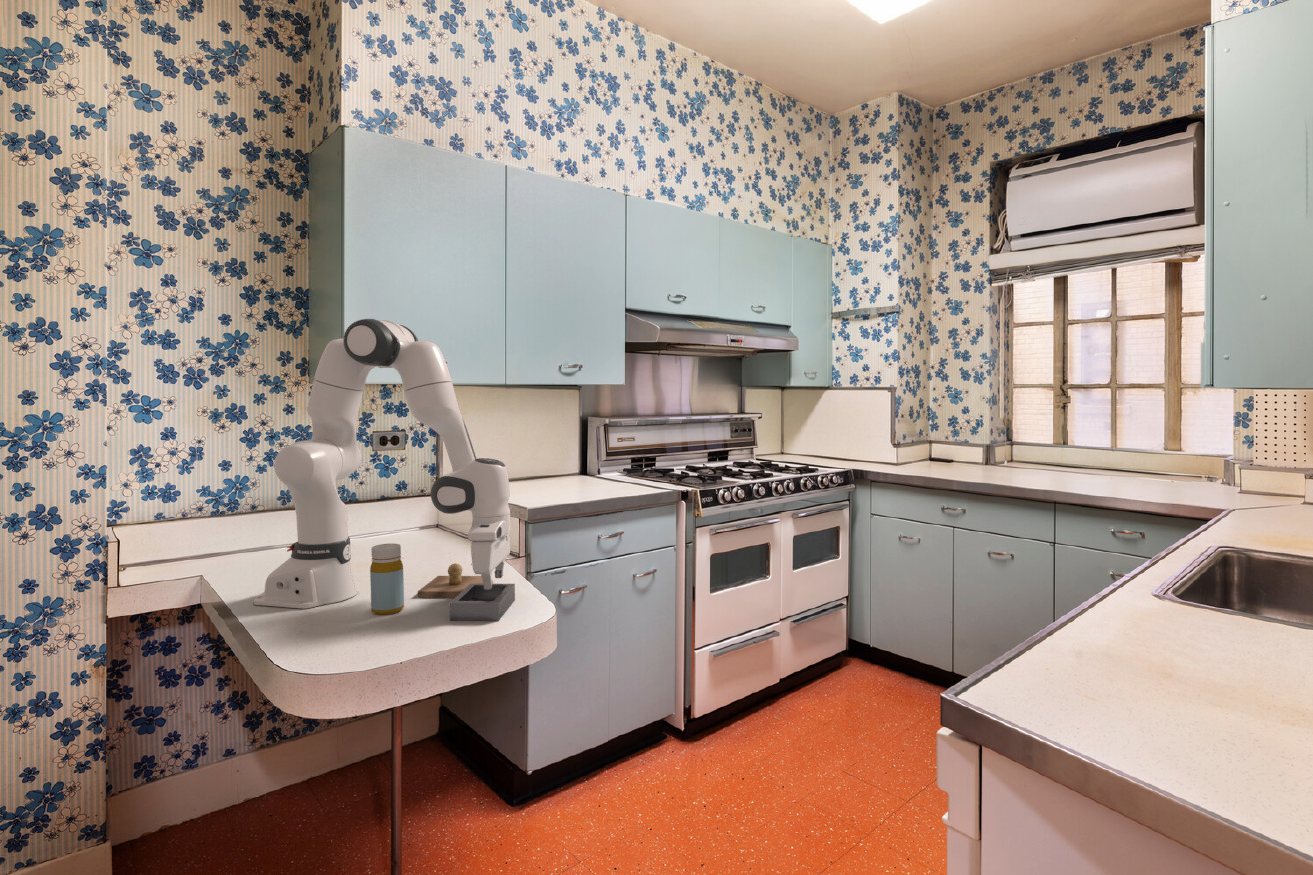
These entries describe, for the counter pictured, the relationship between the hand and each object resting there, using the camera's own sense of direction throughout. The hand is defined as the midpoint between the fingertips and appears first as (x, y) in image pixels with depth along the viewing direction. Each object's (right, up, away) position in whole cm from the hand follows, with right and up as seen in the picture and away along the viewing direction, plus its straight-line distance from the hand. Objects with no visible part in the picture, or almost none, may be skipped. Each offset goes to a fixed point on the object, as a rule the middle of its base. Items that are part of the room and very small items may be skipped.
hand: (493, 582), depth 158 cm
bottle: (-23, -5, -7) cm, 24 cm away
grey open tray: (-1, -5, -6) cm, 8 cm away
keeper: (-12, -4, +10) cm, 16 cm away
